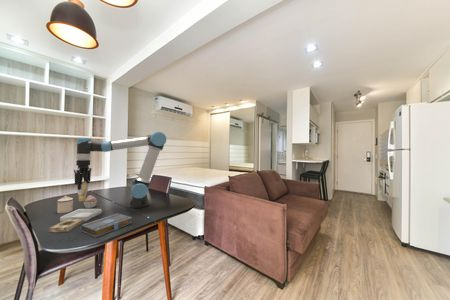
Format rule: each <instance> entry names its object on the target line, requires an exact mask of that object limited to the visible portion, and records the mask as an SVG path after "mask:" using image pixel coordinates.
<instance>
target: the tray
mask: <svg viewBox="0 0 450 300" xmlns="http://www.w3.org/2000/svg"><path fill="white" fill-rule="evenodd" d="M102 212H103V209H102V208H89V209H87V208H79V209H76V210H72V211H70V212H68V213H66V214H64V215H62V216H60V217H59V223H60V222H62V221H65V220H67V219H83V223H84V222H88V221H90V220H92V219H93V218H95V217H97V216H99V215H101V214H102Z"/></svg>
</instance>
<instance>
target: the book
mask: <svg viewBox="0 0 450 300" xmlns="http://www.w3.org/2000/svg"><path fill="white" fill-rule="evenodd" d="M131 219H133V217H132V216H128V215H126V214H121V213H119V212H118V213H114V214H111V215H108V216H105V217H102V218H99V219H96V220H93V221H90V222H87V223H83V224H81V225H79V226H80V227H79V229H80V232H82V233H85V234H87V235H89V236H91V237H93V238H99V237H101V236H104V235H106V234H109V233H111V232H113V231H114V232H115V231H118V230H119V229H121V228H124V227H127V226H128V225H131V224H133V222H132V221H130V220H131Z"/></svg>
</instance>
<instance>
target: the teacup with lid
mask: <svg viewBox="0 0 450 300" xmlns="http://www.w3.org/2000/svg"><path fill="white" fill-rule="evenodd" d="M56 209H57V210H56V211H57V214H65V213H66V214H68V213H71V212H73V211H74V197H70V196H68V195H64V196H63V197H62V198H59V199H57V208H56Z"/></svg>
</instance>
